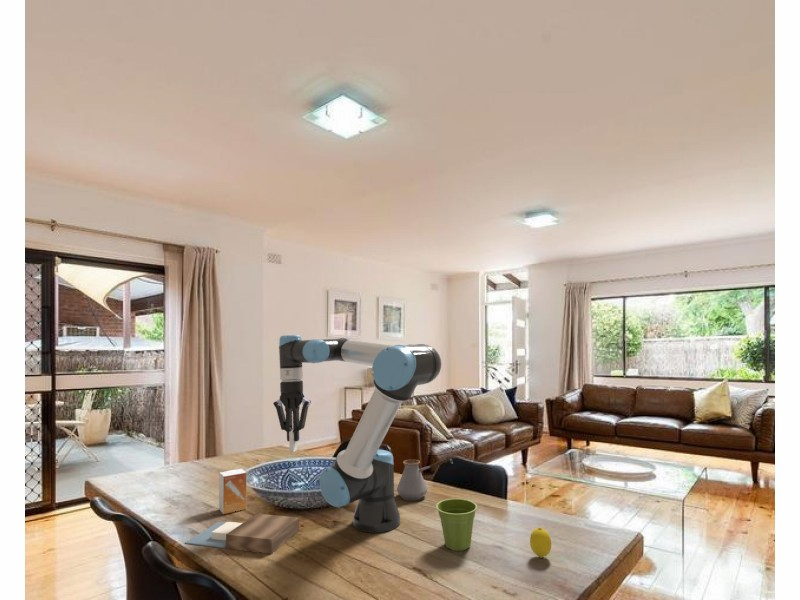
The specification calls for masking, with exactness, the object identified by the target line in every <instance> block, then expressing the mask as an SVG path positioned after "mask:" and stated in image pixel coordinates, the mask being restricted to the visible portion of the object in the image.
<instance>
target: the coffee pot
mask: <svg viewBox="0 0 800 600" xmlns="http://www.w3.org/2000/svg"><path fill="white" fill-rule="evenodd" d="M447 462H450V463H451V464H454V462H453V459H452V458H451V457H450V458H444V459H443V460H439V461H437V462H434V463H433V464H430V465H428V466H424V467H421V468H420V466H419V465H420V464H421V461H420V460H419V459H405V460H403V462H402V463H403V465H404V469H403V471H402V474H401V477H400V479H399V482H398V485H397V487H396V491H397V494H398V495H399V496H400V497H401V498H402V499H403V500H406V501H417V500H422V498H423V497H424V496H425V495H426V494H427V492H428V486H427V484H426V481H425V478H424V476H423V475H422V472H423V471H426V470H428V469H431V468H433V467H434V468H435V467H437V466H440V465H442V464H444V463H447Z"/></svg>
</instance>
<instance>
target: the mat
mask: <svg viewBox="0 0 800 600" xmlns="http://www.w3.org/2000/svg"><path fill="white" fill-rule="evenodd" d="M226 522H227V521H218V522H216V523H215V524H213V525H211V526H209V527H207V528H206V529H205V530H203V531H202V532H199V533H198V534H197V535H195V536H193V537H192V538H190V539H188V540H186V541H185V542H184V544H187V545H193V546H194V545H195V546H201V547H202V546H204V547H210V548H219V549H226V540H218V539H211V532H212V531H214V530H215V529H217V528H219V527H220V526H222V525H223V524H225V523H226Z"/></svg>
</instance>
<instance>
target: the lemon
mask: <svg viewBox="0 0 800 600" xmlns="http://www.w3.org/2000/svg"><path fill="white" fill-rule="evenodd" d="M529 545H530V549H531V551H532V553H533V554H535V555H536V556H537V557H539V558H540V559H543V558H544V557H547V556H548V555H549V554H550V553H551V551H552V539H551V536H550V533H549V532H548V531H547V530H546V529H544V528H542V527H541V526H538V527H537V528H534V529H533V530H532V532H531V534H530V537H529Z"/></svg>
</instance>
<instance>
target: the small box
mask: <svg viewBox="0 0 800 600" xmlns="http://www.w3.org/2000/svg"><path fill="white" fill-rule="evenodd" d="M218 480H219V481H218V482H219V483H218V485H219V486H218V491H219V492H218V508H219V509H218V510H219V511H220V512H221V513H222V515H226V514H231V513H235V511H236V512H240V510H241V511H245V510H244V509H246V510H247V471H245V470H244V469H243V468H238V469H232V470H226V471H221V472H219V478H218Z"/></svg>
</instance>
